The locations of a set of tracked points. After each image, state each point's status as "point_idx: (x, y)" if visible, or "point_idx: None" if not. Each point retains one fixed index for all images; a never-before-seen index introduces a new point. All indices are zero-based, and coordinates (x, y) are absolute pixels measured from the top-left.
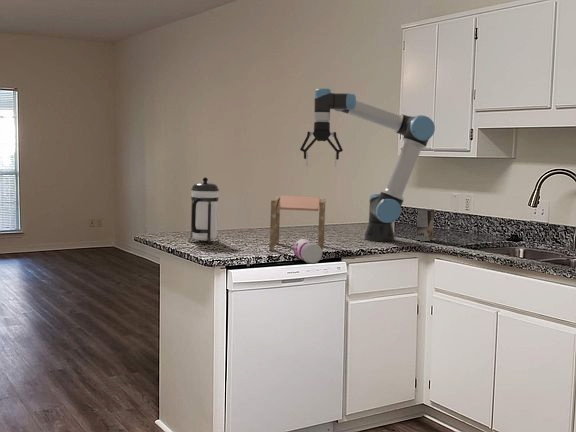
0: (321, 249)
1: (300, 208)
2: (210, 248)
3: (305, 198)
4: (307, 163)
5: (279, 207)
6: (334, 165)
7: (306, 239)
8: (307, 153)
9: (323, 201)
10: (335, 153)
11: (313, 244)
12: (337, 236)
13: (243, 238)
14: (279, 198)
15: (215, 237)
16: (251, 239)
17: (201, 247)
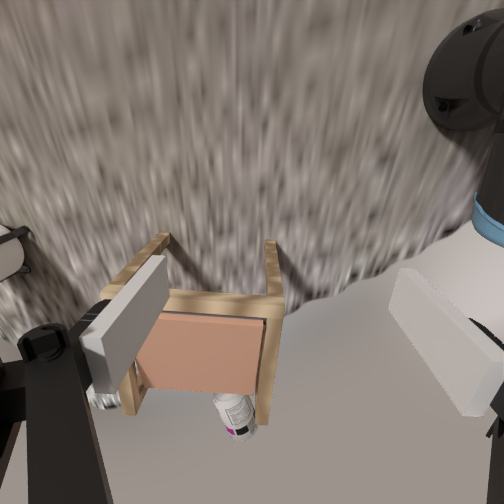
0: (256, 429)
1: (206, 390)
2: (56, 319)
3: (212, 338)
4: (161, 309)
5: (151, 387)
6: (396, 296)
7: (232, 408)
8: (117, 382)
9: (268, 399)
10: (465, 410)
11: (243, 440)
12: (344, 18)
13: (63, 160)
14: None
15: (23, 257)
16: (88, 175)
17: (36, 312)
